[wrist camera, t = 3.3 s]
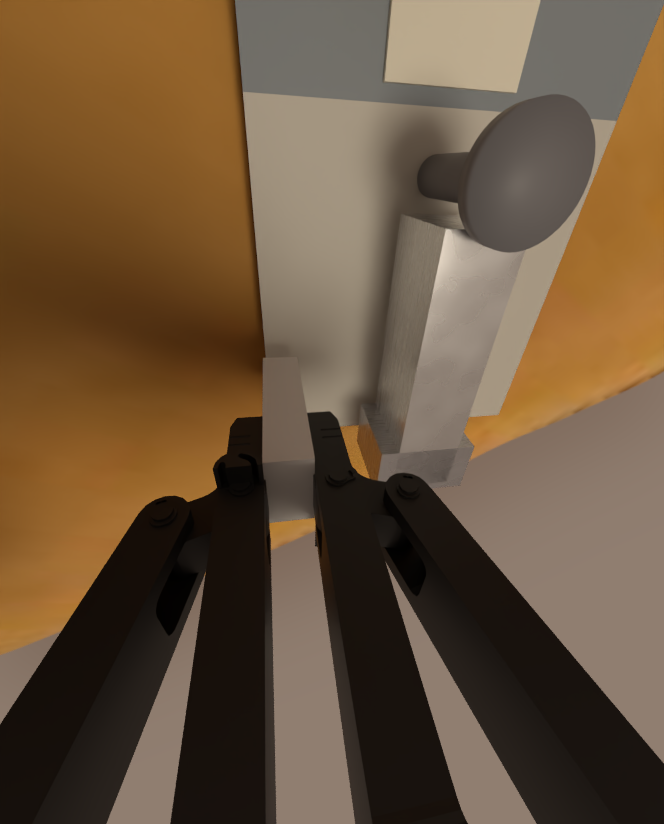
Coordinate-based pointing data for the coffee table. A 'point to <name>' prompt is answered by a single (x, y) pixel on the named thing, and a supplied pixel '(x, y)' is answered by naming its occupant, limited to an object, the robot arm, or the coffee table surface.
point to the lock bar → (434, 349)
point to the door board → (419, 158)
